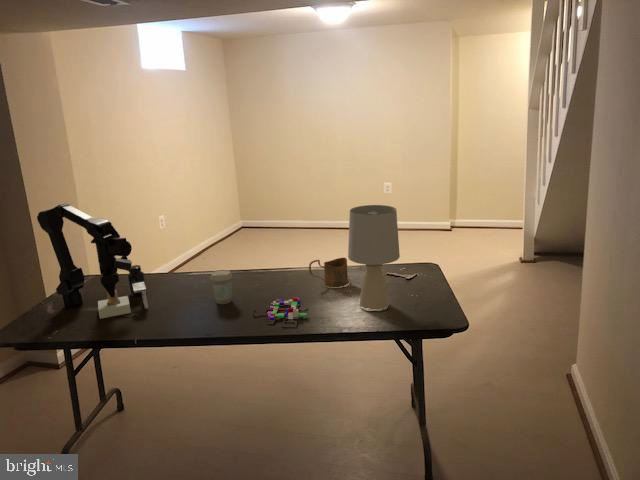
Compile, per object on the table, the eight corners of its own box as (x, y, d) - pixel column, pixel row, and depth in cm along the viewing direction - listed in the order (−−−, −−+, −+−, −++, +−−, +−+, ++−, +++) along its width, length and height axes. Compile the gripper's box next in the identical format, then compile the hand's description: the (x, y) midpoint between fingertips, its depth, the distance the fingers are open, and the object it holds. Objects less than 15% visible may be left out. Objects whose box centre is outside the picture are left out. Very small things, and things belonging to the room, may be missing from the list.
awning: (137, 311, 197) (133, 290, 194) (135, 303, 205) (132, 283, 202) (148, 308, 198) (145, 288, 196) (146, 301, 206) (143, 281, 204)
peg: (110, 313, 195) (106, 294, 193) (109, 310, 199) (106, 291, 196) (120, 311, 197) (117, 292, 195) (119, 308, 200) (116, 289, 198)
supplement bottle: (149, 290, 218) (145, 264, 214) (142, 296, 211) (138, 269, 208) (134, 290, 218) (130, 264, 215) (127, 296, 212) (122, 269, 209)
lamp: (398, 317, 180) (398, 215, 170) (346, 315, 184) (342, 215, 174) (401, 297, 197) (400, 204, 187) (353, 296, 201) (350, 204, 191)
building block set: (259, 301, 202) (258, 291, 200) (311, 301, 200) (310, 290, 199) (246, 329, 178) (245, 317, 176) (304, 329, 176) (304, 317, 175)
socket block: (99, 318, 191) (98, 310, 190) (99, 309, 200) (97, 301, 199) (130, 312, 195) (129, 304, 194) (129, 303, 204) (127, 295, 203)
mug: (305, 285, 216) (303, 258, 213) (342, 277, 223) (341, 251, 220) (316, 293, 206) (315, 265, 202) (354, 285, 213) (354, 258, 209)
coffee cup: (208, 303, 200) (205, 275, 197) (222, 296, 208) (219, 268, 204) (225, 307, 196) (222, 277, 193) (239, 299, 204) (236, 270, 200)
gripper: (130, 257, 186) (136, 297, 190) (126, 245, 203) (132, 282, 207) (97, 262, 182) (104, 303, 186) (96, 249, 198) (103, 287, 203)
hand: (112, 293), depth 196 cm, fingers open, 9 cm apart
